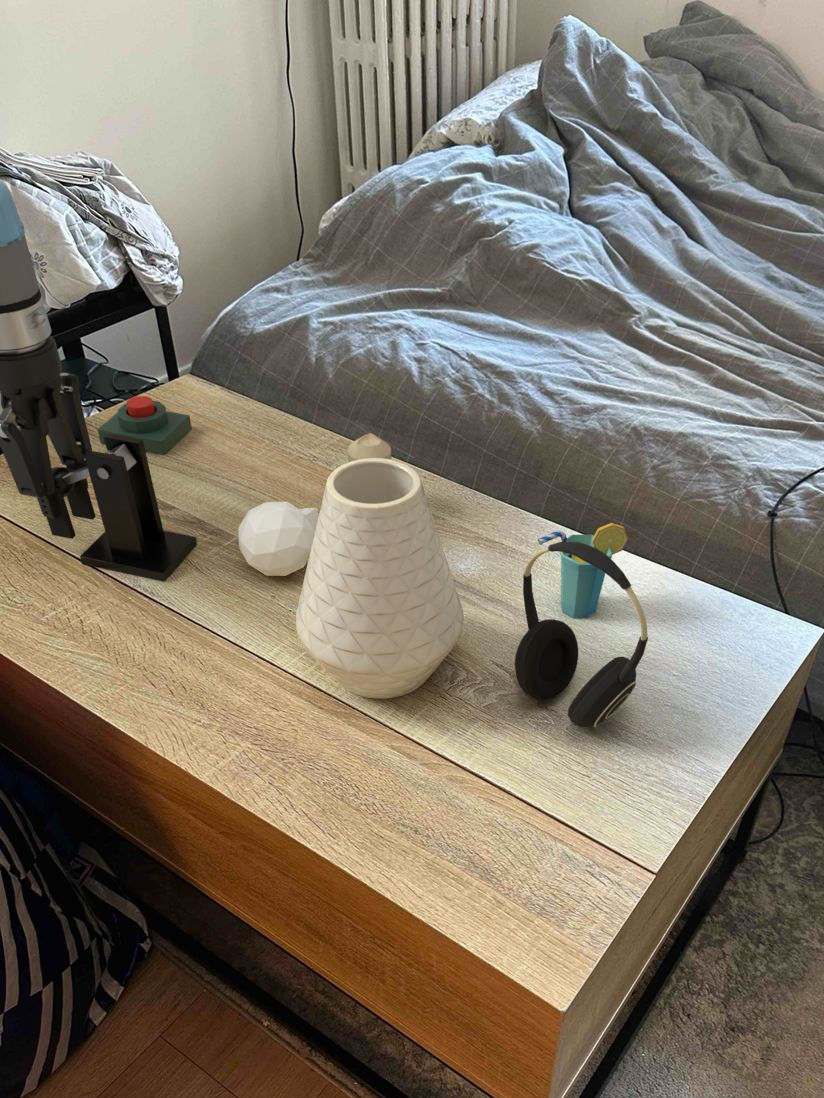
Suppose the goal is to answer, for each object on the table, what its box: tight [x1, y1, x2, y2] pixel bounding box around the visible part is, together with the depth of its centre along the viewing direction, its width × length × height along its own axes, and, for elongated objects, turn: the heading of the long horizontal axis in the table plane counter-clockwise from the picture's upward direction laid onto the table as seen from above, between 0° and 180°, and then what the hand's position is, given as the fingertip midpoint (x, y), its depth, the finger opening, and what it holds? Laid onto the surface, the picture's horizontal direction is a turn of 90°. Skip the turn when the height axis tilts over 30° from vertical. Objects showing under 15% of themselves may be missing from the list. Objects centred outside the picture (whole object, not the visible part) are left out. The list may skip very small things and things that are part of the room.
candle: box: [346, 432, 392, 463], centre depth 125 cm, size 6×6×10 cm
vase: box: [295, 458, 465, 700], centre depth 98 cm, size 18×17×23 cm
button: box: [125, 395, 155, 418], centre depth 136 cm, size 4×4×2 cm
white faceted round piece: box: [237, 501, 319, 577], centre depth 116 cm, size 9×9×12 cm
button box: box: [97, 400, 193, 456], centre depth 138 cm, size 10×8×4 cm
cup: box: [537, 522, 629, 619], centre depth 110 cm, size 11×6×12 cm, turn 117°
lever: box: [51, 444, 137, 498], centre depth 112 cm, size 13×4×4 cm, turn 75°
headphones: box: [514, 541, 649, 729], centre depth 95 cm, size 9×15×20 cm, turn 49°
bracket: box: [79, 433, 198, 582], centre depth 113 cm, size 11×8×15 cm
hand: (74, 525), depth 118 cm, fingers closed on lever, 4 cm apart
